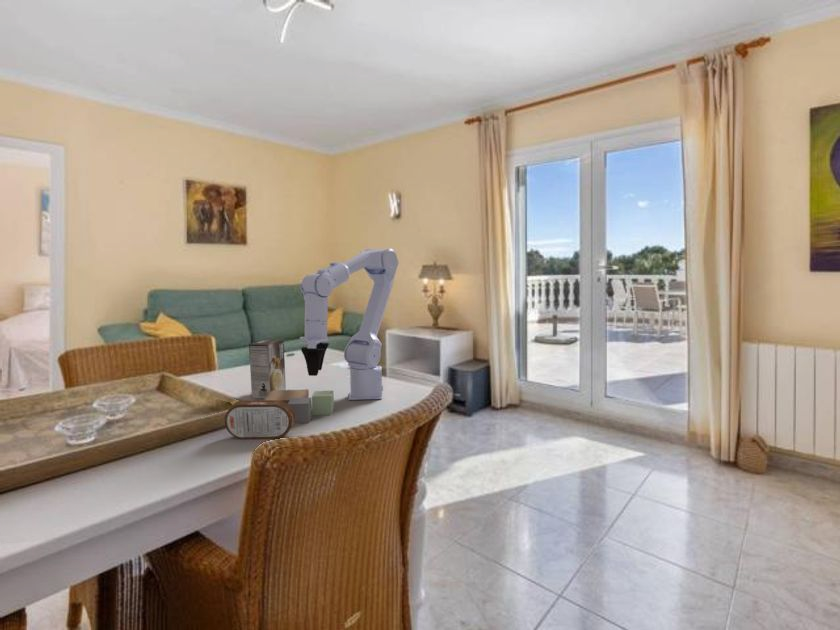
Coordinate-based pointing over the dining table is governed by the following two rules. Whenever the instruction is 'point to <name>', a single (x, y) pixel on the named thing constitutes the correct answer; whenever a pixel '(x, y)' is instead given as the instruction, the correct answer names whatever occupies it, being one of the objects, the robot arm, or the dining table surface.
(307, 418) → the grey cube
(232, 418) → the tin
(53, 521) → the dining table surface
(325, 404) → the green cube
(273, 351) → the coffee box
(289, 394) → the walnut base
